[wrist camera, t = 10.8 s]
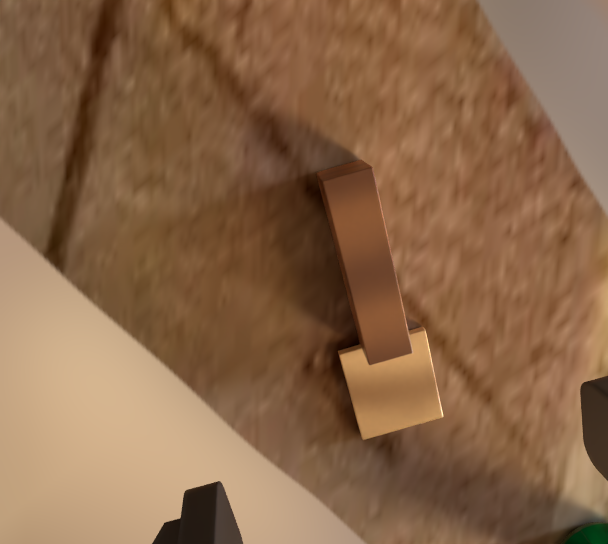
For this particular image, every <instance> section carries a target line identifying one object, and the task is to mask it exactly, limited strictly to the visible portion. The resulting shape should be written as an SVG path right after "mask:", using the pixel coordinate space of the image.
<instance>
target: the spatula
mask: <svg viewBox="0 0 608 544" xmlns="http://www.w3.org/2000/svg"><path fill="white" fill-rule="evenodd" d="M316 175H317V179H318V183H319V187H320V191H321V195H322V199H323V203H324V207H325V211H326V214H327V218H328V222H329V226H330V230H331V234H332V238H333V242H334V246H335V249H336V253H337V257H338V261H339V265H340V269H341V273H342V277H343V281H344V284H345V288H346V292H347V296H348V300H349V304H350V308H351V312H352V316H353V320H354V323H355V327H356V331H357V335H358V339H359V343H360V345H357V346H353V347H350V348H346V349H343V350H339V351H338V354H339V358H340V361H341V365H342V369H343V372H344V376H345V379H346V383H347V387H348V390H349V394H350V398H351V401H352V405H353V409H354V412H355V416H356V419H357V423H358V427H359V430H360V434H361V437H362V440H365V439H368V438H372V437H375V436H379V435H382V434H386V433H389V432H393V431H396V430H400V429H403V428H407V427H410V426H414V425H417V424H421V423H424V422H428V421H431V420H434V419H438V418H441V417H443V413H442V408H441V403H440V399H439V394H438V389H437V384H436V379H435V374H434V369H433V364H432V360H431V355H430V350H429V345H428V340H427V335H426V330H425V329H424V328H423V327H419V328H416V329H412V330H409V331H408V327H407V322H406V317H405V313H404V308H403V304H402V299H401V295H400V290H399V285H398V281H397V276H396V272H395V267H394V262H393V258H392V253H391V249H390V244H389V239H388V235H387V230H386V226H385V221H384V217H383V212H382V207H381V203H380V198H379V194H378V189H377V184H376V180H375V175H374V171H373V167H371V166H370V165H368V164H367V163H366V162H364V161H363V160H358V161H355V162H351V163H348V164H344V165H341V166H337V167H334V168H330V169H327V170H323V171H320V172H317V173H316Z"/></svg>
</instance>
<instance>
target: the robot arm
mask: <svg viewBox="0 0 608 544" xmlns="http://www.w3.org/2000/svg"><path fill="white" fill-rule="evenodd" d="M580 394H581V409H582V425H583V439H584V445H585V448H586V451H587V454H588V456H589V458H590V460H591V461H592V463H593V465H594V466H595V467H596V469H597V470H598V471H599V472H600V473H601V474H602V475H603V476H604V477H605V478H606V480H607V481H608V376H606V377H602V378H598V379H595V380H591V381H587V382H584V383H583V384H582V385H581V390H580ZM152 544H243V541H242V537H241V534H240V531H239V528H238V526H237V523H236V520H235V517H234V514H233V512H232V509H231V506H230V503H229V501H228V498H227V495H226V492H225V490H224V487H223V485H222V483H221V482H220V481H218V482H214V483H211V484H207V485H204V486H200V487H196V488H193V489H189V490H186V491H185V493H184V498H183V505H182V512H181V518H180V519H177V520H173V521H169V522H166V523H164V525H163V527H162V528H161V530H160V531H159V533H158V535H157V536H156V538H155V540H154V542H153V543H152Z"/></svg>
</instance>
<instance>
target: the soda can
mask: <svg viewBox="0 0 608 544" xmlns="http://www.w3.org/2000/svg"><path fill="white" fill-rule="evenodd" d="M562 544H608V523H603V522H592V523H587V524H584V525H582V526H580V527H578V528H576V529H574V530H573V531H572V532H571V533H569V534H568V535H567V536H566V538H565V539H564V541H563V542H562Z"/></svg>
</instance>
